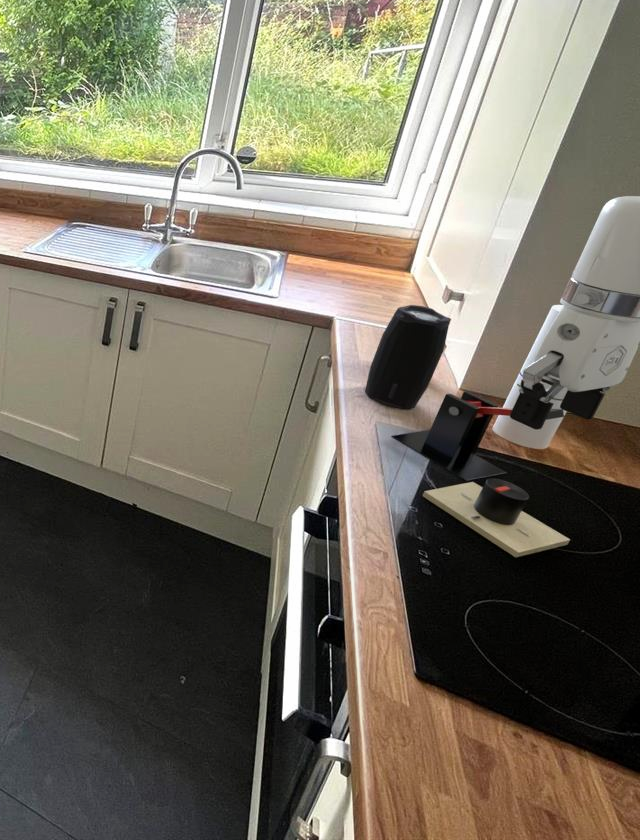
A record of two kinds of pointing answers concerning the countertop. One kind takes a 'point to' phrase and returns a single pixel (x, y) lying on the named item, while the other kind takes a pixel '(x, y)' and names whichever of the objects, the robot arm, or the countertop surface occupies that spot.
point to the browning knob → (501, 501)
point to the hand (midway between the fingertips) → (550, 418)
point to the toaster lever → (507, 411)
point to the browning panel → (510, 538)
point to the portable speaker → (407, 356)
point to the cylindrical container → (505, 424)
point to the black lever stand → (455, 438)
